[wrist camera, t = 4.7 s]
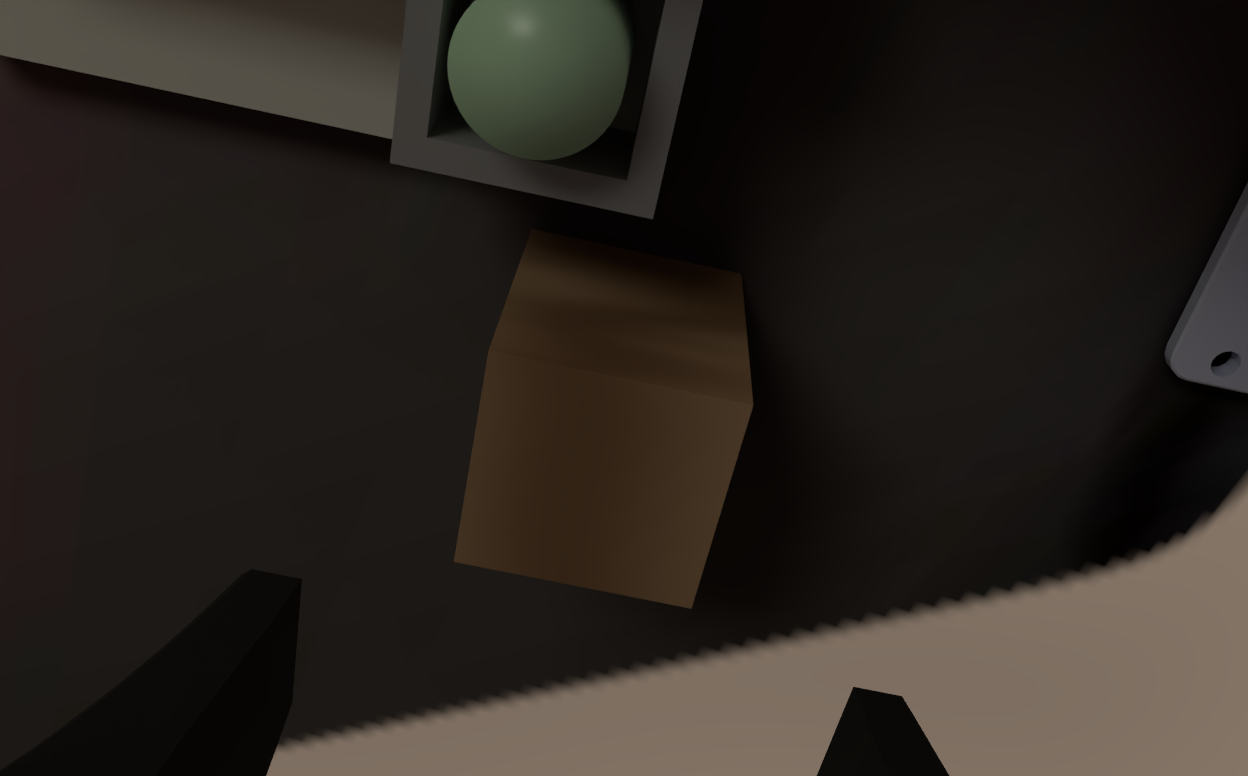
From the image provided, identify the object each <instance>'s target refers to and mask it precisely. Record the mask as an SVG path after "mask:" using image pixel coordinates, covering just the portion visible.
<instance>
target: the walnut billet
mask: <svg viewBox="0 0 1248 776" xmlns="http://www.w3.org/2000/svg"><path fill="white" fill-rule="evenodd" d="M752 408H753V396H752V385H751V373H750V362H749V351H748V340H747V329H746V318H745V307H744V296H743V285H742V274H740V273H735V272H731V271H726V270H721V269H717V268H712V267H707V266H703V265H698V264H693V263H689V262H684V261H679V260H675V259H670V258H665V257H661V256H656V255H651V254H647V253H642V252H637V251H633V250H628V249H623V248H619V247H614V246H609V245H605V244H600V243H595V242H591V241H586V240H581V239H577V238H572V237H567V236H563V235H558V234H553V233H549V232H544V231H540V230H535V229H532V230H531V232H530V235H529V238H528V241H527V244H526V246H525V249H524V252H523V255H522V258H521V261H520V263H519V266H518V269H517V272H516V275H515V278H514V280H513V283H512V286H511V289H510V292H509V294H508V297H507V300H506V303H505V306H504V309H503V311H502V314H501V317H500V320H499V323H498V326H497V328H496V331H495V334H494V337H493V340H492V342H491V345H490V348H489V352H488V358H487V364H486V370H485V376H484V382H483V388H482V394H481V400H480V406H479V412H478V418H477V424H476V431H475V437H474V443H473V449H472V455H471V461H470V467H469V473H468V479H467V485H466V491H465V497H464V503H463V509H462V515H461V521H460V528H459V534H458V540H457V546H456V552H455V558H454V562H458V563H463V564H468V565H473V566H478V567H483V568H488V569H493V570H498V571H503V572H508V573H513V574H518V575H524V576H529V577H534V578H539V579H544V580H549V581H554V582H559V583H564V584H569V585H574V586H579V587H584V588H589V589H594V590H599V591H604V592H609V593H614V594H619V595H625V596H630V597H635V598H640V599H645V600H650V601H655V602H660V603H665V604H670V605H675V606H680V607H685V608H690V609H691V608H692V605H693V602H694V599H695V595H696V592H697V589H698V585H699V582H700V579H701V576H702V572H703V569H704V566H705V562H706V559H707V556H708V553H709V549H710V546H711V543H712V539H713V536H714V533H715V530H716V526H717V523H718V520H719V516H720V513H721V510H722V507H723V503H724V500H725V497H726V493H727V490H728V487H729V484H730V480H731V477H732V474H733V470H734V467H735V464H736V461H737V457H738V454H739V451H740V447H741V444H742V441H743V438H744V434H745V431H746V428H747V424H748V421H749V418H750V415H751V411H752Z"/></svg>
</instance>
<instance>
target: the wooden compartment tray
mask: <svg viewBox="0 0 1248 776" xmlns="http://www.w3.org/2000/svg"><path fill="white" fill-rule="evenodd" d="M474 1H475V0H0V55H3V56H8V57H12V58H17V59H22V60H26V61H31V62H36V63H40V64H45V65H50V66H54V67H59V68H63V69H68V70H73V71H77V72H82V73H87V74H91V75H96V76H101V77H105V78H110V79H115V80H119V81H124V82H129V83H133V84H138V85H143V86H147V87H152V88H157V89H161V90H166V91H171V92H175V93H180V94H184V95H189V96H194V97H198V98H203V99H208V100H212V101H217V102H222V103H226V104H231V105H236V106H240V107H245V108H250V109H254V110H259V111H264V112H268V113H273V114H278V115H282V116H287V117H292V118H296V119H301V120H305V121H310V122H315V123H319V124H324V125H329V126H333V127H338V128H343V129H347V130H352V131H357V132H361V133H366V134H371V135H375V136H380V137H385V138H389V139H392V146H391V156H390V163H392V164H397V165H401V166H406V167H411V168H415V169H420V170H425V171H429V172H434V173H439V174H443V175H448V176H453V177H457V178H462V179H467V180H471V181H476V182H481V183H485V184H490V185H495V186H499V187H504V188H509V189H514V190H518V191H523V192H528V193H532V194H537V195H542V196H546V197H551V198H556V199H560V200H565V201H570V202H574V203H579V204H584V205H588V206H593V207H598V208H602V209H607V210H612V211H616V212H621V213H626V214H630V215H635V216H640V217H644V218H649V219H653V217H654V212H655V208H656V204H657V199H658V195H659V191H660V186H661V182H662V177H663V173H664V169H665V164H666V160H667V156H668V151H669V147H670V143H671V138H672V134H673V129H674V125H675V121H676V116H677V112H678V108H679V103H680V99H681V95H682V90H683V86H684V81H685V77H686V73H687V68H688V64H689V60H690V55H691V51H692V46H693V42H694V38H695V33H696V29H697V25H698V20H699V16H700V12H701V7H702V3H703V0H632V3H633V7H634V11H635V16H636V40H635V46H634V50H633V55H632V59H631V64H630V68H629V72H628V77H627V81H626V86H625V90H624V94H623V98H622V101H621V105H620V107H619V109H618V112H617V114H616V116H615V117H614V119H613V121H612V123H611V124H610V125H609V127H608V128H607V129H606V131H605V132H604V133H603V134H602V135H601V136H600V137H599V138H598V139H597V140H596V141H594V142H593V143H592V144H590V145H589V146H588V147H586V148H584V149H582V150H581V151H579V152H577V153H574V154H572V155H569V156H567V157H562V158H558V159H552V160H530V159H523V158H519V157H516V156H512V155H510V154H507V153H505V152H502V151H500V150H499V149H497V148H495V147H493V146H492V145H490V144H489V143H487V142H486V141H485V140H483V139H482V138H481V137H480V136H479V135H478V134H477V133H476V132H475V131H474V130H473V129H472V128H471V127H470V126H469V124H468V123H467V122H466V121H465V119H464V118H463V116H462V114H461V113H460V111H459V109H458V107H457V105H456V103H455V101H454V98H453V95H452V92H451V89H450V84H449V79H448V68H447V62H448V51H449V46H450V41H451V38H452V35H453V32H454V30H455V28H456V26H457V24H458V22H459V20H460V19H461V17H462V16H463V14H464V13H465V11H466V10H467V9H468V8H469V7H470V6H471V4H472V3H473V2H474Z"/></svg>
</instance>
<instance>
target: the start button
mask: <svg viewBox="0 0 1248 776" xmlns="http://www.w3.org/2000/svg"><path fill="white" fill-rule="evenodd" d="M635 40H636V16H635V11H634V7H633V3H632V0H475V1H474V2H473V3H472V4H471V6H470V7H469V8H468V9H467V10H466V11H465V13H464V14H463V16H462V17H461V19H460V20H459V22H458V24H457V26H456V28H455V30H454V32H453V35H452V38H451V41H450V46H449V51H448V62H447V68H448V79H449V84H450V89H451V92H452V95H453V98H454V101H455V103H456V105H457V107H458V109H459V111H460V113H461V114H462V116H463V118H464V119H465V121H466V122H467V123H468V124H469V126H470V127H471V128H472V129H473V130H474V131H475V132H476V133H477V134H478V135H479V136H480V137H481V138H482V139H483V140H485V141H486V142H487V143H489V144H490V145H492V146H493V147H495V148H497V149H499V150H500V151H502V152H505V153H507V154H510V155H512V156H516V157H519V158H523V159H530V160H552V159H558V158H562V157H567V156H569V155H572V154H574V153H577V152H579V151H581V150H582V149H584V148H586V147H588V146H589V145H590V144H592V143H593V142H594V141H596V140H597V139H598V138H599V137H600V136H601V135H602V134H603V133H604V132H605V131H606V129H607V128H608V127H609V125H610V124H611V123H612V121H613V119H614V117H615V116H616V114H617V112H618V109H619V107H620V105H621V101H622V98H623V94H624V90H625V86H626V81H627V77H628V72H629V68H630V64H631V59H632V55H633V50H634V46H635Z"/></svg>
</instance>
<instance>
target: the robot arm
mask: <svg viewBox="0 0 1248 776" xmlns="http://www.w3.org/2000/svg"><path fill="white" fill-rule="evenodd" d="M1230 351H1232V354H1231V358H1230V359H1229V360H1228V361H1227V362H1226V363H1225V364H1222V365H1220V366H1216V367H1211V363H1212V360H1213V359H1214V358H1215V357H1216V356H1217V355H1219V354H1221V353H1223V352H1230ZM1165 359H1166V363H1167V364H1168V365H1169V367H1170V368H1171V369H1172V370H1173V372H1174V373H1175V374H1176V375H1177V376H1178V377H1180V378H1182V379H1184V380H1187V381H1191V382H1196V383H1200V384H1205V385H1210V386H1215V387H1219V388H1224V389H1229V390H1233V391H1238V392H1243V393H1248V183H1247V185H1246V187H1245V189H1244V191H1243V193H1242V195H1241V197H1240V199H1239V201H1238V203H1237V205H1236V207H1235V209H1234V211H1233V213H1232V215H1231V217H1230V219H1229V221H1228V223H1227V225H1226V227H1225V229H1224V231H1223V233H1222V235H1221V237H1220V239H1219V241H1218V243H1217V245H1216V247H1215V249H1214V251H1213V253H1212V255H1211V257H1210V259H1209V261H1208V263H1207V265H1206V267H1205V269H1204V271H1203V273H1202V275H1201V277H1200V279H1199V281H1198V283H1197V285H1196V287H1195V289H1194V291H1193V293H1192V295H1191V297H1190V299H1189V301H1188V303H1187V305H1186V307H1185V309H1184V311H1183V313H1182V315H1181V317H1180V319H1179V321H1178V323H1177V325H1176V327H1175V329H1174V331H1173V333H1172V335H1171V337H1170V339H1169V341H1168V343H1167V346H1166V350H1165ZM301 582H302V579H299V578H293V577H288V576H283V575H278V574H273V573H268V572H263V571H258V570H253V569H251V570H249V571H247V572H245V573H244V574H242V575H241V576H240V577H239V578H238V579H237V580H235V581H234V582H233V583H232V584H231V585H230V586H229V587H228V588H227V589H226V590H225V591H224V592H223V593H222V594H221V595H220V596H219V597H218V598H217V599H216V600H215V601H214V602H213V603H211V604H210V605H209V606H208V607H207V608H206V609H205V610H204V611H203V612H202V613H201V614H200V615H199V616H197V617H196V618H195V619H194V620H193V621H192V622H191V623H190V624H189V625H187V626H186V627H185V628H184V629H183V630H182V631H181V632H180V633H179V634H177V635H176V636H175V637H174V638H173V639H172V640H171V641H170V642H168V643H167V644H166V645H165V646H164V647H162V648H161V649H160V650H159V651H158V652H157V653H155V654H154V655H153V656H152V657H151V658H149V659H148V660H147V661H146V662H145V663H143V664H142V665H141V666H140V667H139V668H138V669H136V670H135V671H134V672H133V673H132V674H130V675H129V676H128V677H127V678H126V679H124V680H123V681H122V682H121V683H119V684H118V685H117V686H116V687H114V688H113V689H112V690H111V691H109V692H108V693H107V694H105V695H104V696H103V697H101V698H100V699H99V700H98V701H96V702H95V703H94V704H92V705H91V706H90V707H88V708H87V709H86V710H84V711H83V712H82V713H80V714H79V715H78V716H76V717H75V718H74V719H72V720H71V721H70V722H68V723H67V724H66V725H65V726H63V727H62V728H61V729H59V730H58V731H57V732H55V733H54V734H52V735H51V736H50V737H48V738H47V739H45V740H44V741H42V742H41V743H40V744H38V745H37V746H35V747H34V748H32V749H31V750H30V751H28V752H27V753H25V754H24V755H22V756H21V757H19V758H18V759H16V760H15V761H13V762H12V763H10V764H9V765H7V766H6V767H4V768H3V769H1V770H0V776H266V774H267V772H268V769H269V766H270V763H271V761H272V758H273V755H274V753H275V750H276V747H277V744H278V741H279V739H280V736H281V733H282V730H283V727H284V724H285V721H286V719H287V716H288V713H289V710H290V707H291V704H292V697H293V684H294V671H295V659H296V646H297V633H298V620H299V607H300V595H301ZM817 776H949V775H948V773H947V771H946V769H945V768H944V766H943V764H942V763H941V761H940V759H939V758H938V756H937V754H936V753H935V751H934V749H933V748H932V746H931V744H930V742H929V741H928V739H927V737H926V736H925V734H924V732H923V731H922V729H921V727H920V725H919V724H918V722H917V720H916V719H915V717H914V715H913V714H912V712H911V711H910V709H909V707H908V705H907V704H906V702H905V701H904V699H903V697H902V696H897V695H892V694H887V693H882V692H877V691H872V690H867V689H861V688H856V687H853V689H852V692H851V694H850V697H849V699H848V702H847V704H846V707H845V709H844V711H843V713H842V716H841V718H840V721H839V723H838V726H837V728H836V730H835V733H834V735H833V738H832V740H831V743H830V745H829V748H828V750H827V752H826V755H825V757H824V760H823V762H822V764H821V767H820V769H819V772H818V774H817Z"/></svg>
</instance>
